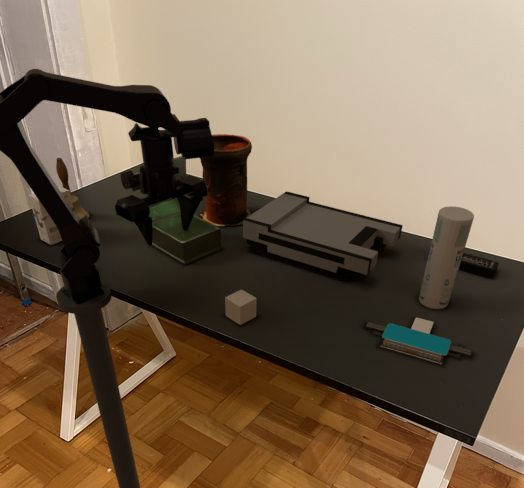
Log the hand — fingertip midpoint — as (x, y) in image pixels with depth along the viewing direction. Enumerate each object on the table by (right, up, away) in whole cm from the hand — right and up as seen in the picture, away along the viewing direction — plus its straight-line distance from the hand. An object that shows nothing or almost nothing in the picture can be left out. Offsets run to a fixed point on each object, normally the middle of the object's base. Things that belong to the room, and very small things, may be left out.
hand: (167, 237), depth 108 cm
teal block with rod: (+50, -21, -6) cm, 55 cm away
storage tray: (+1, +2, +21) cm, 21 cm away
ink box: (-32, +5, +25) cm, 40 cm away
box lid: (-3, +15, +16) cm, 22 cm away
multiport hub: (+67, -4, +16) cm, 69 cm away
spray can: (+56, -13, +4) cm, 58 cm away
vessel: (+9, +13, +36) cm, 39 cm away
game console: (+34, +1, +21) cm, 40 cm away
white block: (+15, -16, -1) cm, 22 cm away
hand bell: (-32, +12, +33) cm, 48 cm away
